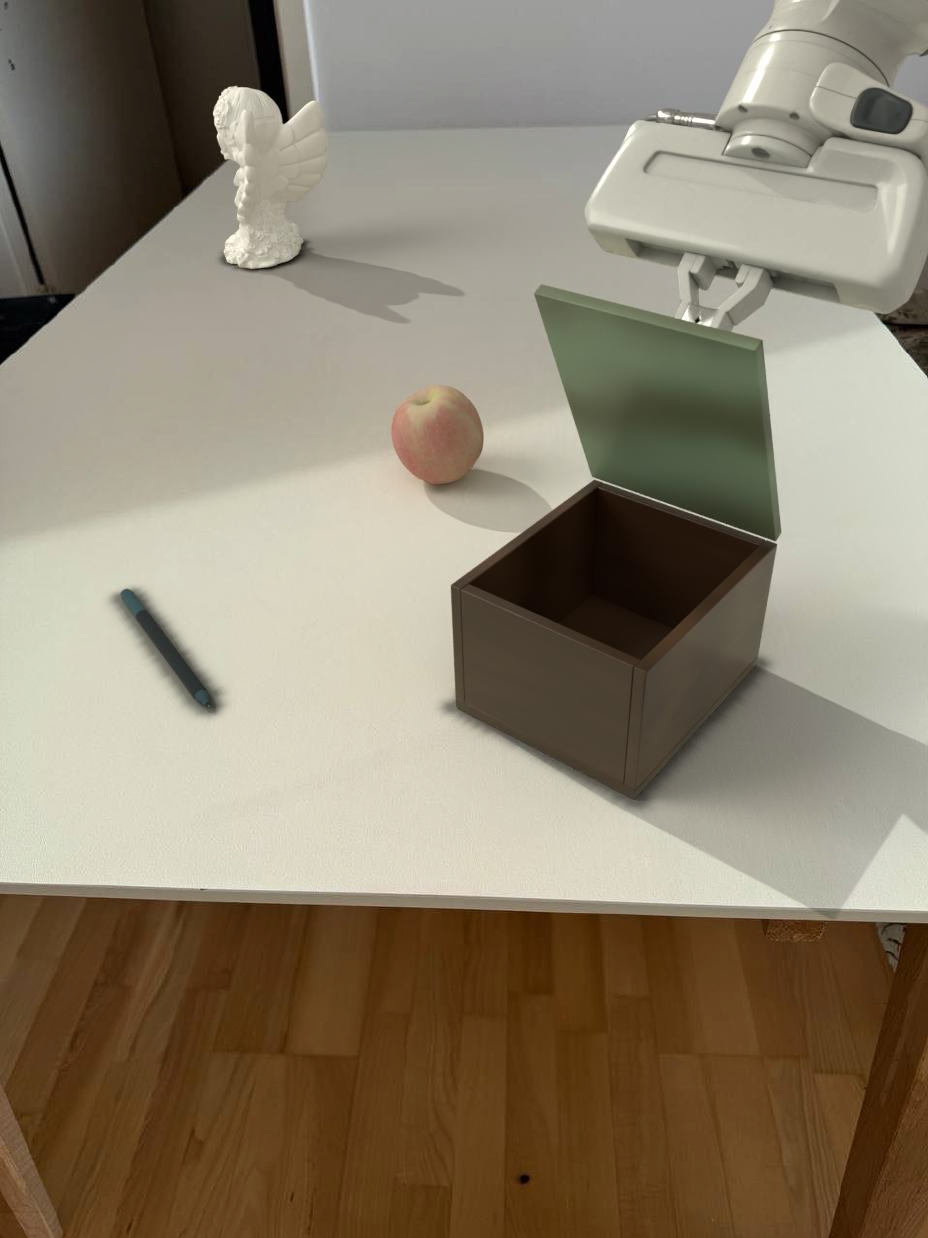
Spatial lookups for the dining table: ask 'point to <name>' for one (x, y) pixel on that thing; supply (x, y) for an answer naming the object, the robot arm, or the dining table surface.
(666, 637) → the coldframe
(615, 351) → the lid
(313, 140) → the cherub figurine
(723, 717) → the dining table surface
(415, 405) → the apple
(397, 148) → the dining table surface
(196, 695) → the pen
